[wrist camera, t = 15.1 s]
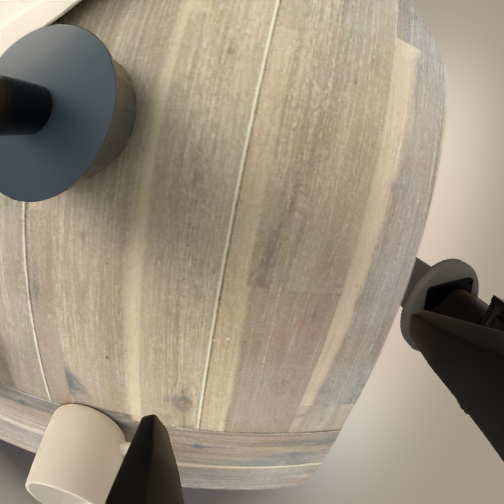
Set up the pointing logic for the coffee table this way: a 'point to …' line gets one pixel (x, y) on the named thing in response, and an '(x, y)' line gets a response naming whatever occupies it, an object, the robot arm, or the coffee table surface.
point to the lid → (54, 110)
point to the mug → (77, 457)
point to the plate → (28, 17)
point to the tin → (118, 124)
